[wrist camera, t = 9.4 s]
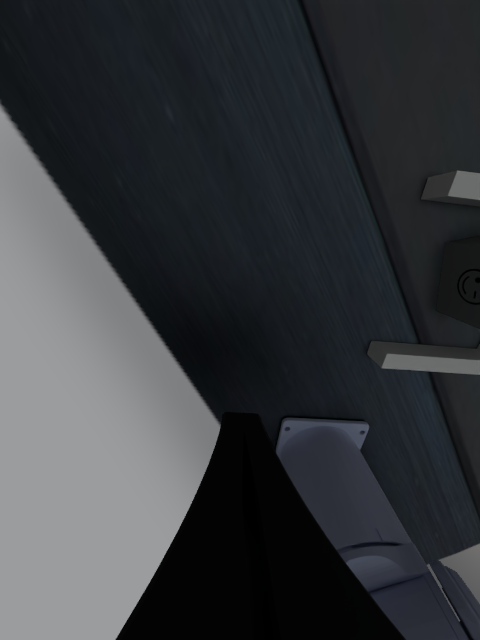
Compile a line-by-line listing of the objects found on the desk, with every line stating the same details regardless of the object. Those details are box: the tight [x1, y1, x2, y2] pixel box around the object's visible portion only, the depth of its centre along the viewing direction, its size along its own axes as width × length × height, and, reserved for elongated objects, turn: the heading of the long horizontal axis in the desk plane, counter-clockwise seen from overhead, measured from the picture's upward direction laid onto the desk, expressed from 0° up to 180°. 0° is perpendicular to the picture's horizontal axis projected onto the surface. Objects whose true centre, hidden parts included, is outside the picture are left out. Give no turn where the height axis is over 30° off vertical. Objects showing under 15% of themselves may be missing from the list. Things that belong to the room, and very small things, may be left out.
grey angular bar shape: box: [367, 171, 480, 375], centre depth 16 cm, size 12×10×2 cm
